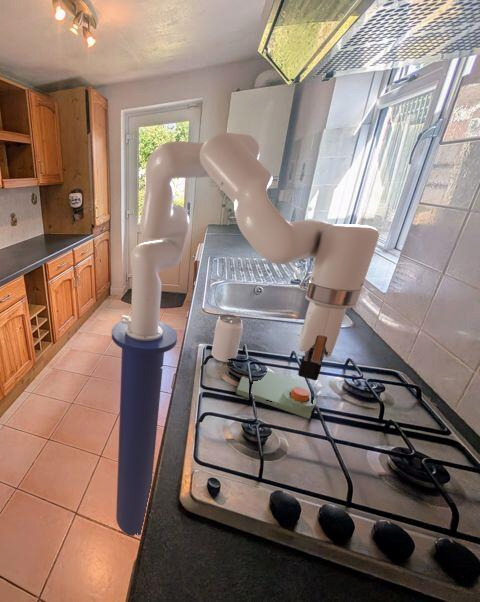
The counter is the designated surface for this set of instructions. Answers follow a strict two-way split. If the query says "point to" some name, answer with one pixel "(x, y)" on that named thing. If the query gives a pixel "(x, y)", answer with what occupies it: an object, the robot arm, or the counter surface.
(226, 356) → the can
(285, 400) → the scale
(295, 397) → the tare button
